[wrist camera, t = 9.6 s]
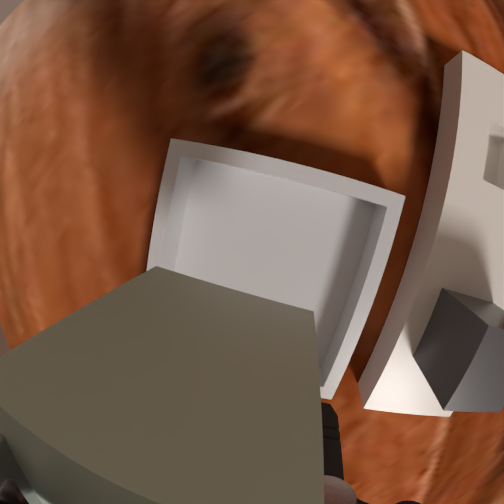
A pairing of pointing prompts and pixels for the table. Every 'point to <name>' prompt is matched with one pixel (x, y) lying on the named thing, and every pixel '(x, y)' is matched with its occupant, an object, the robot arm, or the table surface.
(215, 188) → the tray
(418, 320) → the flat gray board
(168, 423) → the block
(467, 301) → the block
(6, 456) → the robot arm
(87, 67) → the table surface
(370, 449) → the table surface
